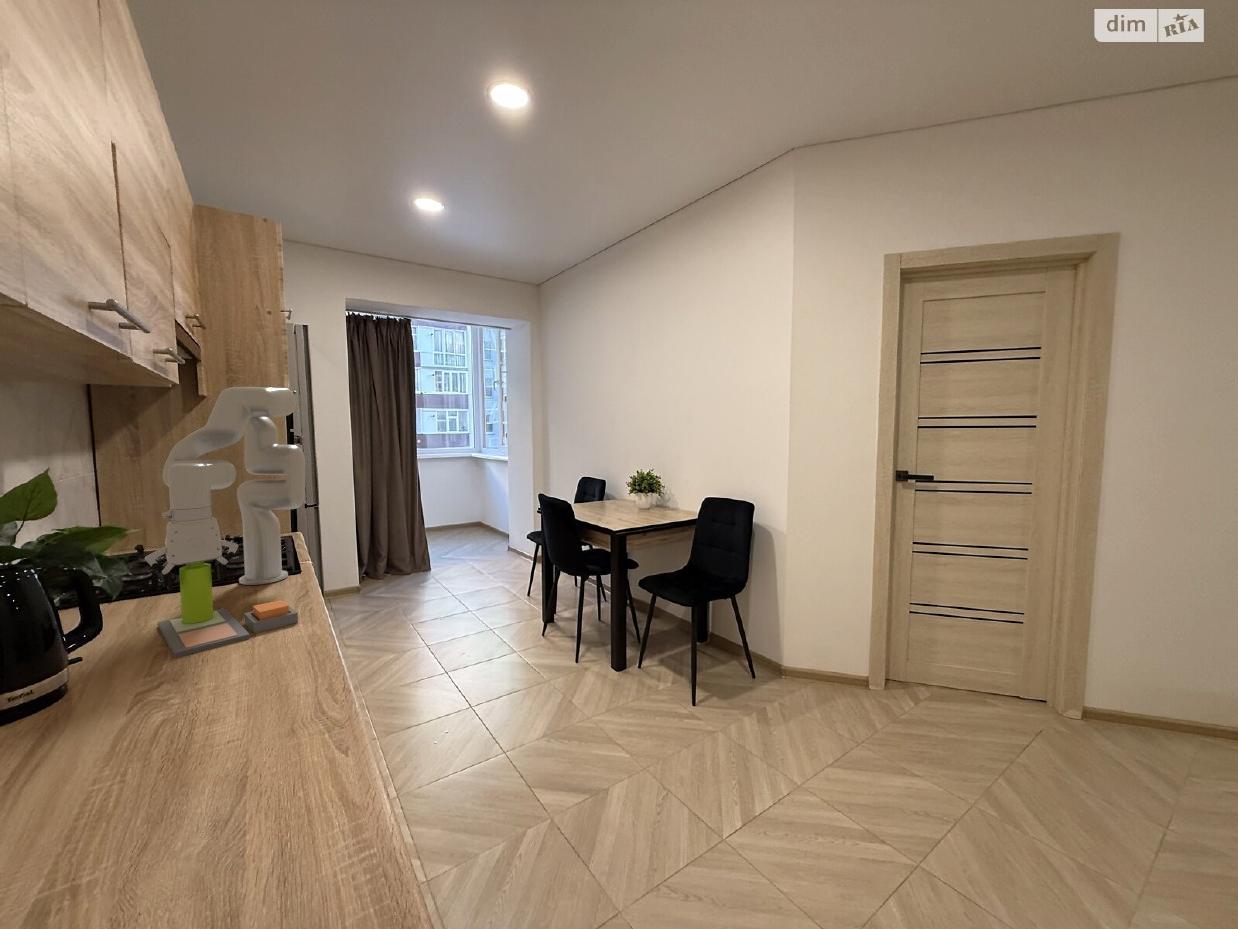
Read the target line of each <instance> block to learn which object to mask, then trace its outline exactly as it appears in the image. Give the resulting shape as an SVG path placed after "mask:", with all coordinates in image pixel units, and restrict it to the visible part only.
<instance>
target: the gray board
mask: <svg viewBox="0 0 1238 929" xmlns="http://www.w3.org/2000/svg"><path fill="white" fill-rule="evenodd" d="M157 626H158V629H159V631H160V633H161V634H162V636H163V638H164V639H165V641H166V644H167V646H169V649H170V651H171V653H172V655H173V656H174V658H178V657H179V658H180V657H183V656H185V655H186V656H187V655H189V654H190V655H191V654H194V653H198V652H202V651H205V650H209V649H214V648H218V647H221V646H226V645H229V644H233V643H238V642H241V641H245V640H249V639H250V637H251V636H250V633H249V632H248V631H247V630H246V629H245V628H244V627H243V625H241V623H240V622H239V621H238V620H237V619H236V618H235V617H234V616H233V615H232V614H231V613H230V612H229V611H228V610H227V608H220V609H215V610H214V609H213V618H211V619H209V620H206V621H203V622H198V623H191V624H185V623H182V616H181V617H178V618H172V619H168V620H164V621H159V622H157Z"/></svg>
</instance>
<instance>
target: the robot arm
mask: <svg viewBox="0 0 1238 929" xmlns="http://www.w3.org/2000/svg"><path fill="white" fill-rule="evenodd" d="M296 405H297V400H296V396H295V393H294V392H293V391H292V390H290V389H289V388H288V387H287V388H286V387H271V386H270V387H268V386H267V387H263V386H232V387H227V388H225V389H223V390H222V391H221V392H220V393H219V395H218V397H217V399H216V402H215V404H214V407H213V408H212V411H211V413H210V415H209V417H208V419H207V422H206V424H205V425H204V426H202V427H200V428H199V429H197V430H195V431H193V432H191V433H190V434H188V435H187V436H185V437H183V438H182V439H181V440H179V441H178V442H177V443H176V444H175V445H174V446H173V447H172V449H171V451H170V452H169V454H168V457H167V459H166V461H165V463H164V465H163V469H162V480H163V483H164V484H165V485H166V486H167V487H168V491H169V493H168V494H169V509H168V510H167V511H164V512H162V513H161V514H162V515H161V516H162V519H166V518H167V519H169V520H170V521H168V522H167V524H166V529H165V540H164V542H165V543H164V546H163V547H161V548H159V549H157V550H156V551H153V552H151V553H150V554H148V555H146V556H145V557H144V560H145V561H146V562H147V564H149V565H150V567H151V568H152V569H153V570H156V571H157V572H159V573H160V574H161V575H162V587H163V588H165V587H166V588H167V591H172V590H173V588H174V586H173V574H172V573H171V570H172V569H173V568H174V567H175V566H180V565H181V566H182V565H186V564H189V563H195V562H201V561H204V562H207V561H212V560H217V561H218V562H217V563H216V571H217V579H218V580H219V581H220V582H221V581H222V582H223V581H224V580H225V577H227V564H228V563H229V561H230V560H231V559H232V558H233V557H234V556H235V553H236V552H237V550H238V548H239V544H238V543H237V542H233V541H232V542H231V541H229V540H224V539H221V531H220V526H219V523H218V520H217V517H214V516H213V513H212V495H211V490H223V489H226V488H229V487H230V486H232V485H233V484H234V482H235V480H236V479H237V469H236V467H235V466H234V464H232V462H230V461H227V460H224V459H198V458H199V457H201V456H203V455H204V454H207V453H209V452H213V451H216V450H220V449H223V448H226V447H228V446H231V445H234V444H237V443H239V442H240V441H241V440H243V438H244V457H243V458H244V462H243V463H244V467H245V470H246V472H247V473H249V474H250V475H255V476H257V475H259V476H285V478H278V479H277V478H275V479H274V478H264V479H263V478H262V479H260V478H259V479H258V478H257V479H250V480H246V481H244V482H242V483H241V484H240V485H239V486H238V487H237V491H236V497H237V503H238V506H239V509H240V513H241V521H242V522H241V523H242V540H243V557H244V558H243V561H244V564H243V565H244V575H242V576H241V577H239V578H238V581H239V584H241V585H245V586H257V585H267V584H273V583H277V582H280V581H282V580H285V579H287V578H288V576H289V572H288V571H287V570H283V566H282V562H283V561H282V541H281V524H280V523H281V522H280V520H279V518H278V517H277V516H276V515H275V513H274V512H273V510H277V511H278V510H295V509H299V508H300V507H302V505H303V504H304V501H305V496H306V495H305V494H306V493H305V492H306V457H305V453H304V451H303V449H302V448H301V446H300V447H299V446H297V445H295V444H279V439H278V438H279V431H278V427H277V426H276V424H275V422H274V421H273V420H272V419H271V418H279V417H285V416H286V417H287V416H290V415H291V414H292V413H294V411H295V410H296ZM223 547H226V548H229V549H228V551H227V552H226V553H225V554H224V555H223V556H222V554H223ZM163 555H165V556H164V557H165V559H166V561H165V563H163V565H162V564H161V563H158V562H157V561H156V559H157V558H160V557H161V556H163Z"/></svg>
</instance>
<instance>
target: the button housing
mask: <svg viewBox="0 0 1238 929" xmlns="http://www.w3.org/2000/svg"><path fill="white" fill-rule="evenodd" d="M287 605H288V606H289V613H288V614H284V615H280V616H276V617H272V618H267V619H263V620H259V619H258V618H257V617H256V616H255V615H254V614H253V610H252V611H249V612H244V613H243V614H244V618H243V619H244V624H245V625H246V626H247V627H248V629H250V630H251V632H253V633H254V634H257V633H262V632H266V631H269V630H273V629H277V628H281V627H286V626H289V625H293V624H296V623H299V612H298V611H297V610H295V609H294V608H292V607H291V606H290V605H289V604H287Z"/></svg>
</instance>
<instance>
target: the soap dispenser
mask: <svg viewBox="0 0 1238 929" xmlns="http://www.w3.org/2000/svg"><path fill="white" fill-rule="evenodd" d="M178 570H179V586H180V588H179V590H180V608H181V609H180V610H181V617H182V623H185V624H191V623H198V622H203V621H206V620H209V619H211V618H213V611H214V604H213V585H212V584H213V581H212V580H213V579H212V565H211V563H205V561H201V562H195V563H189V564H185V566H182V567H179V569H178Z"/></svg>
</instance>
